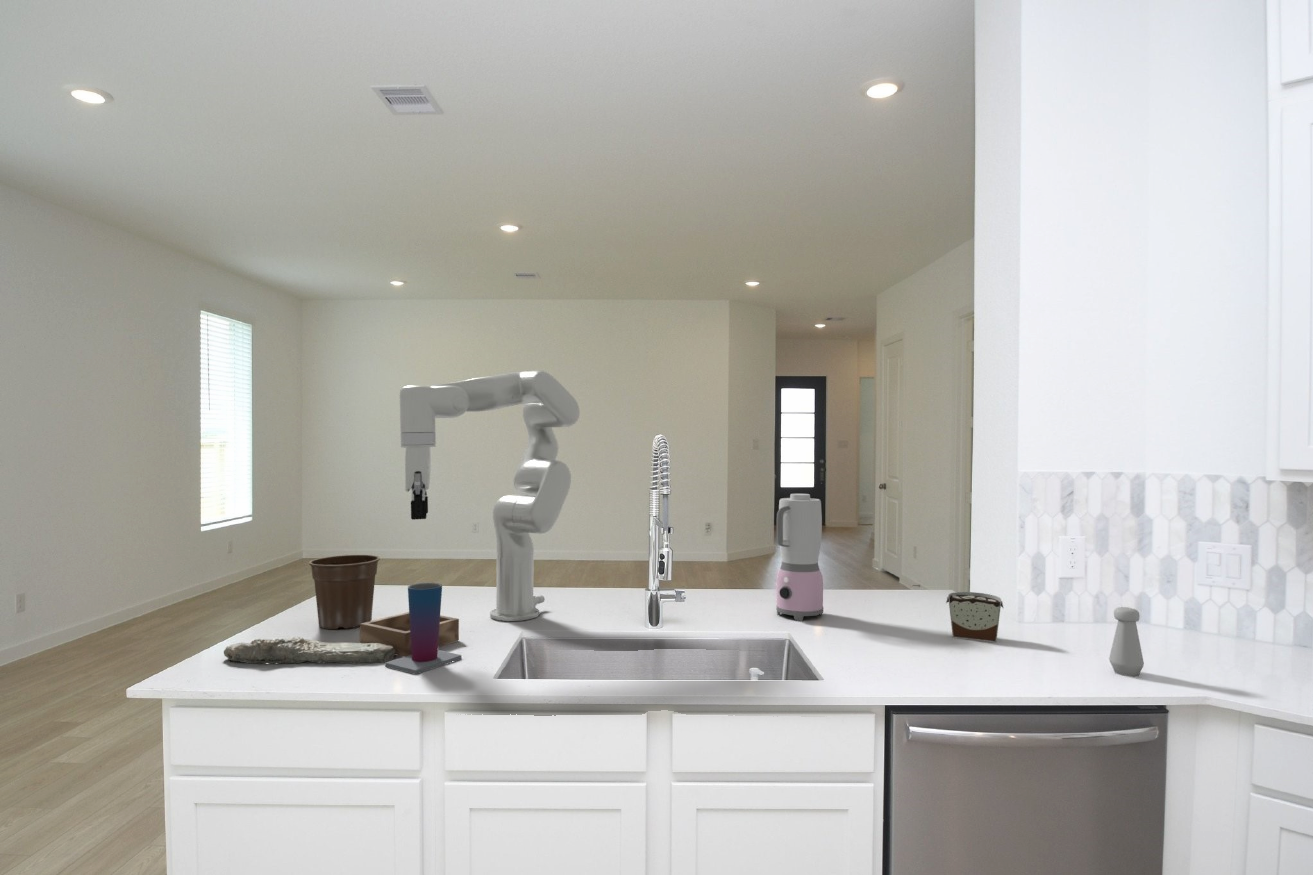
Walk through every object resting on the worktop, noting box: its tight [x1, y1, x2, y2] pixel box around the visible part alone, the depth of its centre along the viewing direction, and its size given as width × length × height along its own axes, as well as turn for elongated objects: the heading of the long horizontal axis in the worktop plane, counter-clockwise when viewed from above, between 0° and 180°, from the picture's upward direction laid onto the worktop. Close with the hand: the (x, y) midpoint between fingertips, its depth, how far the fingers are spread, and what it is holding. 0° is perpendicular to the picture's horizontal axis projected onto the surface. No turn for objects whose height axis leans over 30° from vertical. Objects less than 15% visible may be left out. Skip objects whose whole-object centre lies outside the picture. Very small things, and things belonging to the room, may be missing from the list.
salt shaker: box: [1108, 606, 1145, 678], centre depth 146 cm, size 6×6×13 cm
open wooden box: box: [359, 611, 460, 657], centre depth 165 cm, size 15×15×5 cm
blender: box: [775, 493, 824, 621], centre depth 192 cm, size 16×12×32 cm
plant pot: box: [308, 554, 381, 630], centre depth 182 cm, size 16×16×16 cm
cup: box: [407, 582, 443, 662], centre depth 151 cm, size 7×7×15 cm
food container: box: [945, 591, 1005, 643], centre depth 173 cm, size 12×6×10 cm, turn 65°
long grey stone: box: [223, 636, 396, 664], centre depth 153 cm, size 35×5×10 cm
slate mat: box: [384, 649, 462, 675], centre depth 151 cm, size 12×9×1 cm
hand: (419, 516), depth 165 cm, fingers open, 9 cm apart
